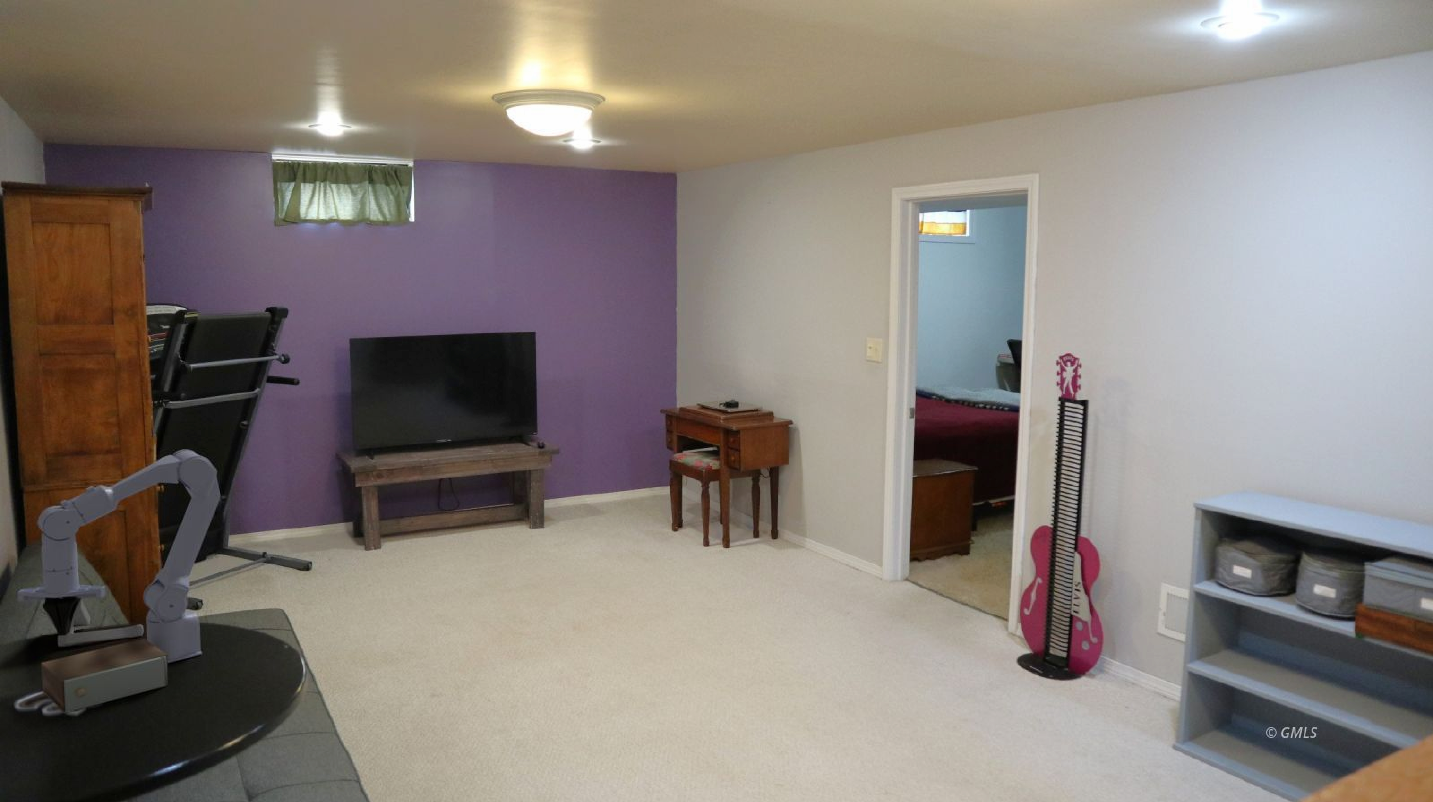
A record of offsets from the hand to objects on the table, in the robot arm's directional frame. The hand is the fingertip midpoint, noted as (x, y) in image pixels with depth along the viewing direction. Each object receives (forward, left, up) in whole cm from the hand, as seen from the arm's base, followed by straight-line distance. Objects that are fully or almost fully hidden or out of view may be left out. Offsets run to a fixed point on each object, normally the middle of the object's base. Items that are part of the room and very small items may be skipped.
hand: (64, 633), depth 191 cm
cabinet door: (-4, +17, -9) cm, 20 cm away
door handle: (-12, -22, -10) cm, 27 cm away
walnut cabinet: (-4, +10, -9) cm, 14 cm away
